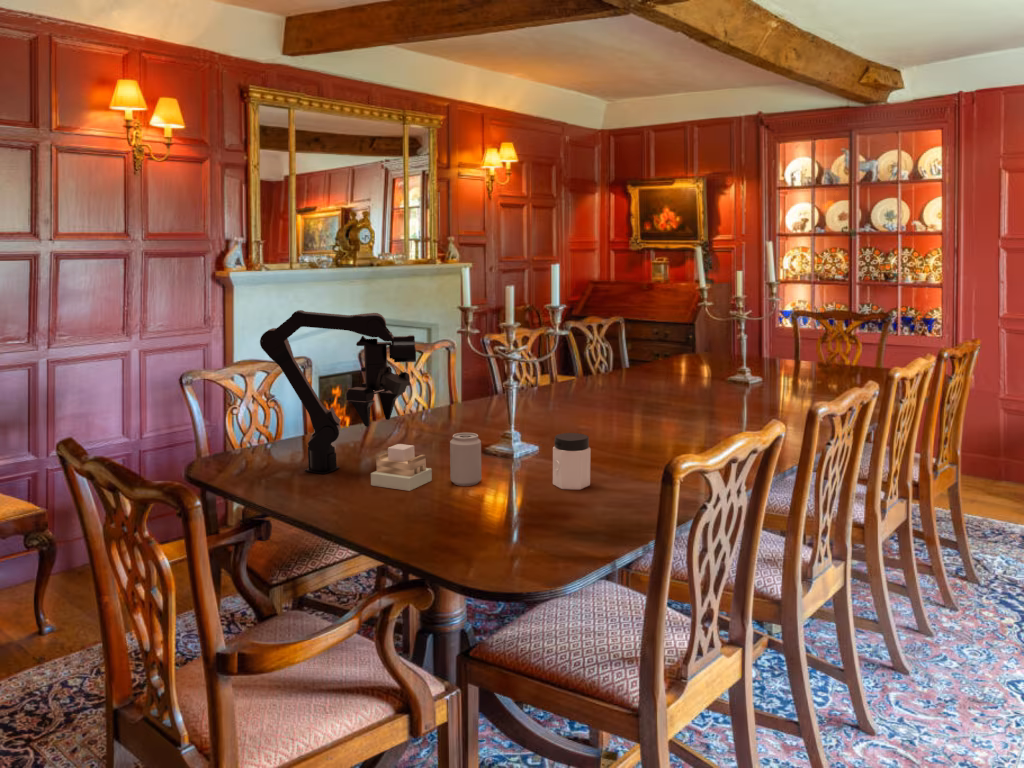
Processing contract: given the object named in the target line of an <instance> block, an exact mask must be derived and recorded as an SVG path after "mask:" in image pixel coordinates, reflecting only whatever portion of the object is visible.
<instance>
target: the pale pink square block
mask: <svg viewBox="0 0 1024 768" xmlns="http://www.w3.org/2000/svg"><path fill="white" fill-rule="evenodd" d="M387 452H388V460H393V461H401V462H405V461H408V460H410V459H412V458H415V457H416V454H415V453H416V452H415V445H412V444H411V445H410V444H405V443H404V444H403V443H397V444H394V445H392V446H389V447H387Z"/></svg>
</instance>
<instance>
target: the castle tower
mask: <svg viewBox="0 0 1024 768" xmlns="http://www.w3.org/2000/svg"><path fill="white" fill-rule="evenodd" d="M375 458H376V459H375V460H376V461H375V462H376V463H375V464H376V471H377V472H383V473H390V474H397V475H404V476H414V473H415V474H418V473H420V471H425V470H426V468H427V462H426V459H427V457H426V454H420V455H418V456H415V458H412V459H410V460H408V461H405V462H401V461H393V460H388V451H387V452H384V453H382V454H379V455H376V456H375Z"/></svg>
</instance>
